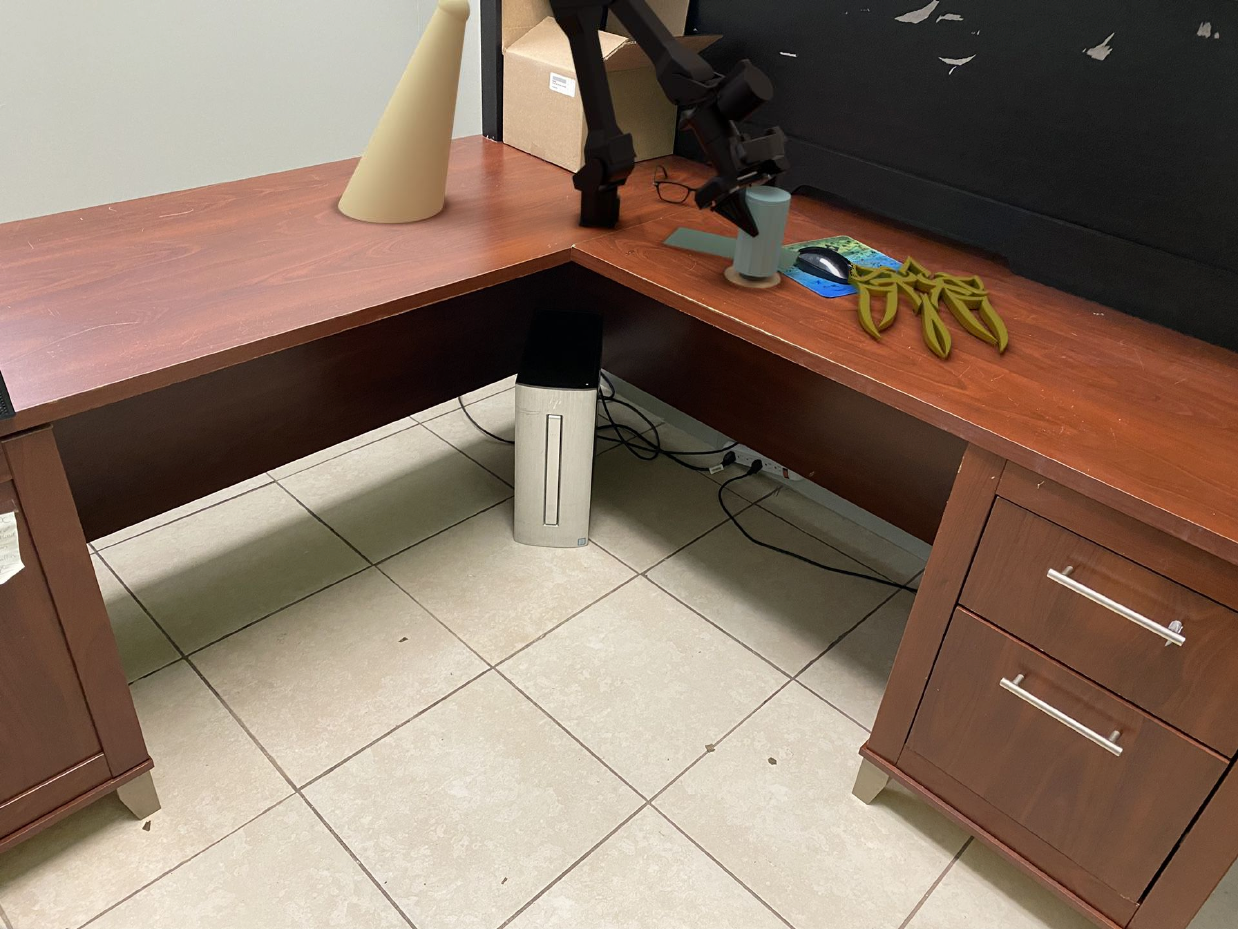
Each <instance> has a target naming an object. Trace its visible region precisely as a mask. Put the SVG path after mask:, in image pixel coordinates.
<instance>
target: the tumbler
mask: <svg viewBox="0 0 1238 929" xmlns="http://www.w3.org/2000/svg"><path fill="white" fill-rule="evenodd" d="M791 198H792V196H791V193H789V192H788V191H786V190H784V189H781V188H780V187H779V188H775V187H769V186H752V187H749V186H748V187H747V189H746V198H745V200H746V203H747V205H748V208H749V210H750V212H751V214H752V217H753V219H754V221H755V223H756V226H757V229H758V231H759V235H758V236H756V237H754V238H753V237H752V236H750V235H749V234H747V233H746V232H745V231H743V230H742V229H740V228H739V227H738V230H737V238H736V239H737V243H736V249H735V255H734V259H733V262H732V266H733V268H734V269H735V270H737V271H738V272H740V273H742V274H745V275H748V276H755V277H768V276H772V275H774V274H776V273H777V274H778V270H779V269H778V263H779V258H780V253H781V248H783V242H784V237H785V231H786V225H787V221H788V215H789V209H790V206H791V200H792V199H791Z"/></svg>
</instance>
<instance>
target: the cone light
mask: <svg viewBox="0 0 1238 929" xmlns="http://www.w3.org/2000/svg"><path fill="white" fill-rule="evenodd" d="M470 15H471V6H470V2H469V1H468V0H438V2H437V7H436V9H435V11H433V15H432V17H430V18H431V19H430V20H429V22H428V24H427V26H426V28H425V30H424V32H423V34H422V36H421V38H420V40H419V42H418V44H417V46H416V48H415V50H414V52H413V54H412V56H411V58H410V60H409V62H408V64H407V66H406V68H405V69H404V72H403V74H402V76H401V79H400V80H399V82H398V84H397V87H396V88H395V90H394V92H393V94H392V96H391V97H390V100H389V102H388V104H387V106H386V108H385V110H384V112H383V114H382V116H381V118H380V120H379V122H378V124H377V126H376V128H375V130H374V132H373V134H372V136H371V138H370V140H369V142H368V144H367V145H366V148H365V149H364V151H363V154H362V156H361V158H360V160H359V162H358V164H357V165H356V168H355V170H354V172H353V174H352V176H351V177H350V179H349V181H348V183H347V186H346V187H345V189H344V192H343V194H342V196H341V198H340V199H339V202H338V205H337V208H338V210H339V212H341V213H342V214H343V215H345V216H347V217H348V218H352V219H354V220H358V221H363V222H369V223H374V224H404V223H412V222H418V221H423V220H426V219H428V218H431V217H433V216H435V215H437V214H439V213H440V212H441V211H442V210H443V208H444V203H445V194H446V187H447V179H448V172H449V171H448V170H449V162H450V155H451V149H452V148H451V147H452V138H453V130H454V123H455V115H456V107H457V98H458V91H459V84H460V83H459V82H460V75H461V67H462V58H463V51H464V42H465V36H466V35H465V33H466V27H467V22H468V20H469V18H470Z"/></svg>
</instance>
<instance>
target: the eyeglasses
mask: <svg viewBox="0 0 1238 929" xmlns="http://www.w3.org/2000/svg"><path fill="white" fill-rule="evenodd" d="M658 167H659V168H661V169H662V171H663V175H664V178H665V179H666V178H668V177H669V175H668V172H667V170H666V168H665V167H664V166H663V165H661V164H658V165H657V166H656V168H655V171H654V176H653V181H652V184H653V186H654V187H655V190H656V192H657V195H658V197H659V199H660V200H661V201H664V202H666V203H669V204H670V203H671V204H683V203H684V202H685V201H686V200H687V199H688V198H689V197H690V194H691V192H694V193H695V191H696V190H698V189H699V188H700V187H696V188H695V187H694V188H693V187H690V186H688V185H685V184H682V183H679V182H674V181H668V180H656V177H657V176H656V175H657V171H658V170H657V169H658ZM661 184H666V185H667V184H670V185H676V186H679V187H681V188H684V189H687V194H686V196H685V197H684V198H683V200H681V201H672V200H667V199H665V198H662V194H661V193H660V185H661ZM713 206H714V205H712V206H710V207H709V208H710V209H711V208H712V207H713Z"/></svg>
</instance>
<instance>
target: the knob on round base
mask: <svg viewBox="0 0 1238 929" xmlns="http://www.w3.org/2000/svg"><path fill="white" fill-rule="evenodd" d="M723 274H724V277H725V278H726V280H728V281H729V282H731V283H733V284H735V285H738V286H741V287H746V288H751V289H768V288H773V287H776V286H778V285H779V284H780V283H781V276H780V274H779V273H778V272H777V273H776V274H774V275H772V276H768V277H755V276H748V275H745V274H742V273H740V272H738V271H737V270H735V269H734V268H733V265H731V266H728V267H727V268H726V269H725V270H724V272H723Z"/></svg>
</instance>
